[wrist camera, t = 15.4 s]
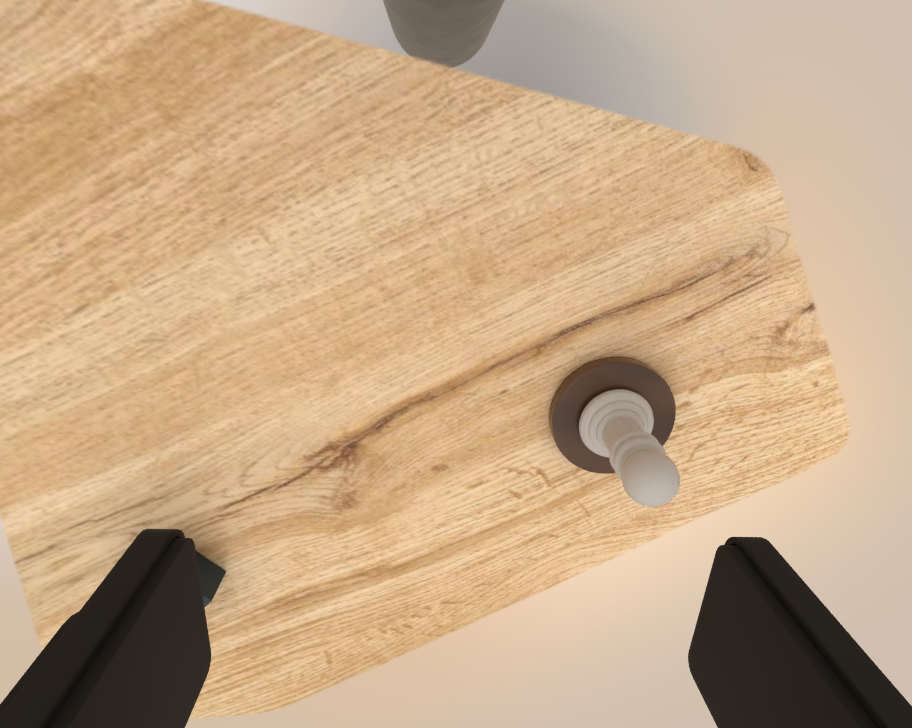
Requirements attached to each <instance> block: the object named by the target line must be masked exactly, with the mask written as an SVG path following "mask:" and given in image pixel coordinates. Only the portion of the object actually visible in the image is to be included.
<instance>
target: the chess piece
mask: <svg viewBox="0 0 912 728" xmlns="http://www.w3.org/2000/svg"><path fill="white" fill-rule="evenodd" d="M653 424H654V417H653V412H652V409H651V407H650V405H649V403H648V402H647V401H646V400H645V399H644V398H643V397H642V396H641V395H639V394H637V393H635V392H632V391H629V390H624V389H615V390H610V391H606V392H604V393H601V394H599V395H598V396H596V397H595V398H593V399H592V400H591V401H590V402H589V403H588V404H587V405H586V407H585V408H584V410H583V412H582V414H581V417H580V421H579V433H580V437H581V439H582V441H583V443H584V444H585V445H586V446H587V447H588V448H589V449H590V450H591V451H593V452H594V453H596V454H598V455H600V456H603V457H609V459H610V463H611V466H612V467H613V469H614V470H615V473H616V474H617V476H618V477H619V478H620V479H621V480H622V483H623V487H624V489H625V491H626V493H627V494H628V495H629V497H630V498H631V499H632V500H634V501H635V502H637V503H638V504H641V505H644V506H649V507H656V506H661V505H664V504H666V503H668V502H669V501H671V500H672V499H673V498H674V497H675V495H676V494H677V492H678V489H679V485H680V477H679V473H678V470H677V467H676V465H675V464H674V462H673V461H672V460H671V459H670V458H669V457H668V456H667V455H666V452H665V450H664V448H663V446H662V445H661V444H660V443H659V442H658V440H657V439H656V438H655V437H654V436H653V435H651V432H652V429H653Z"/></svg>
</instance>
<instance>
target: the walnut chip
mask: <svg viewBox="0 0 912 728" xmlns="http://www.w3.org/2000/svg"><path fill="white" fill-rule="evenodd" d="M615 389H624V390H629V391H632V392H635V393H637V394H639V395H641V396H642V397H643V398H644V399H645V400H646V401H647V402H648V403H649V405H650V407H651V409H652V412H653V417H654V424H653V429H652V432H651V435H653V436H654V437H655V438H656V439H657V440H658V442H659V443H660V444H661V445H662V446H663V445H664V444H665V442H666V441H667V439H668V437H669V436H670V433H671V431H672V429H673V425H674V421H675V401H674V397H673V394H672V392H671V390H670V388H669V386H668V385H667V383H666V382H665V381H664V379H663V378H662V377H661V376H660V375H659V374H658V373H657V372H656V371H655V370H653V369H652V368H651V367H649V366H648V365H646V364H644V363H642V362H640V361H637V360H635V359H630V358H624V357H609V358H603V359H599V360H595V361H593V362H590V363H588V364H586V365H584V366H582V367H580V368H579V369H577V370H576V371H574V372H573V373H572V374H571V375H570V376H569V377H567V378H566V380H565V381H564V382H563V383H562V384H561V386H560V387H559V389H558V390H557V392H556V394H555V396H554V398H553V401H552V404H551V408H550V416H549V421H550V428H551V432H552V435H553V437H554V440H555V442H556V444H557V447H558V448H559V450H560V451H561V453H562V454H563V455H564V456H565V457H566V458H567V459H568V460H569V461H570V462H571V463H573V464H574V465H576V466H578V467H580V468H582V469H584V470H587V471H590V472H595V473H615V470H614V469H613V467H612V466H611V463H610V459H609V457H603V456H600V455H598V454H596V453H594V452H593V451H591V450H590V449H589V448H588V447H587V446H586V445H585V444H584V443H583V441H582V439H581V437H580V433H579V421H580V417H581V414H582V412H583V410H584V408H585V407H586V405H587V404H588V403H589V402H590V401H591V400H592V399H593V398H595V397H596V396H598V395H599V394H601V393H604V392H606V391H610V390H615Z"/></svg>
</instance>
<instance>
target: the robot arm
mask: <svg viewBox="0 0 912 728" xmlns="http://www.w3.org/2000/svg"><path fill="white" fill-rule="evenodd" d="M688 661H689V668H690V671H691V674H692V676H693V679H694V680H695V683H696V685H697V687H698V689H699V690H700V693H701V695H702V697H703V699H704V701H705V703H706V705H707V707H708V709H709V711H710V713H711V715H712V717H713V719H714V721H715V723H716V725H717V727H718V728H912V706H911V705H910V704H909V703H908V702H907V700H906V699H905V698H904V697H903V696H902V695H901V694H900V693H899V691H898V690H897V689H896V688H895V687H894V686H893V684H892V683H891V682H890V681H889V680H888V679H887V677H886V676H885V675H884V674H883V673H882V671H881V670H880V669H879V668H878V667H877V666H876V665H875V663H874V662H873V661H872V660H871V659H870V658H869V656H868V655H867V654H866V653H865V652H864V651H863V650H862V648H861V647H860V646H859V645H858V644H857V643H856V641H855V640H854V639H853V638H852V637H851V636H850V634H849V633H848V632H847V631H846V630H845V629H844V628H843V626H842V625H841V624H840V623H839V622H838V621H837V619H836V618H835V617H834V616H833V615H832V614H831V613H830V611H829V610H828V609H827V608H826V607H825V606H824V604H823V603H822V602H821V601H820V600H819V599H818V597H817V596H816V595H815V594H814V593H813V592H812V591H811V589H810V588H809V587H808V586H807V585H806V584H805V582H804V581H803V580H802V579H801V578H800V577H799V576H798V574H797V573H796V572H795V571H794V570H793V569H792V567H791V566H790V565H789V564H788V563H787V562H786V561H785V559H784V558H783V557H782V556H781V555H780V554H779V552H778V551H777V550H776V549H775V548H774V547H773V545H772V544H771V543H770V542H769V541H768V540H766V539H764V538H761V537H731V538H729V539H728V540H727V541H726V543H725V545H721V546H719V547H718V549H717V551H716V554H715V558H714V562H713V565H712V569H711V573H710V576H709V580H708V584H707V587H706V591H705V594H704V598H703V602H702V605H701V609H700V613H699V616H698V620H697V624H696V628H695V631H694V635H693V638H692V642H691V646H690V649H689V654H688ZM210 662H211V648H210V642H209V635H208V629H207V622H206V616H205V609H204V603H203V596H202V590H201V584H200V577H199V571H198V564H197V558H196V551H195V545H194V541H193V540H192V539H190V538H185V536H184V533H183V532H182V531H181V530H178V529H146V530H143V531H142V532H141V533H140V534H139V535H138V536H137V537H136V539H135V540H134V541H133V543H132V544H131V545H130V547H129V548H128V549H127V550H126V552H125V553H124V554H123V556H122V557H121V558H120V560H119V561H118V562H117V563H116V565H115V566H114V567H113V569H112V570H111V571H110V573H109V574H108V575H107V576H106V578H105V579H104V580H103V582H102V583H101V584H100V586H99V587H98V588H97V589H96V591H95V592H94V593H93V595H92V596H91V597H90V599H89V600H88V601H87V602H86V604H85V605H84V606H83V608H82V609H81V610H80V611H79V612H77V613H76V614H74V615H72V616H71V617H70V618H69V619H68V620H67V621H66V622H65V623H64V624H63V625H62V626H61V628H60V629H59V630H58V631H57V633H56V634H55V635H54V637H53V638H52V639H51V640H50V642H49V643H48V644H47V646H46V647H45V648H44V649H43V651H42V652H41V653H40V655H39V656H38V657H37V658H36V660H35V661H34V662H33V663H32V665H31V666H30V667H29V669H28V670H27V671H26V673H25V674H24V675H23V676H22V677H21V679H20V680H19V681H18V683H17V684H16V685H15V686H14V688H13V689H12V690H11V691H10V693H9V694H8V695H7V697H6V698H5V699H4V700H3V702H2V703H1V704H0V728H185V726H186V723H187V721H188V719H189V717H190V714H191V712H192V710H193V707H194V705H195V703H196V700H197V698H198V696H199V693H200V691H201V689H202V686H203V684H204V682H205V679H206V677H207V674H208V671H209V667H210Z"/></svg>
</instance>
